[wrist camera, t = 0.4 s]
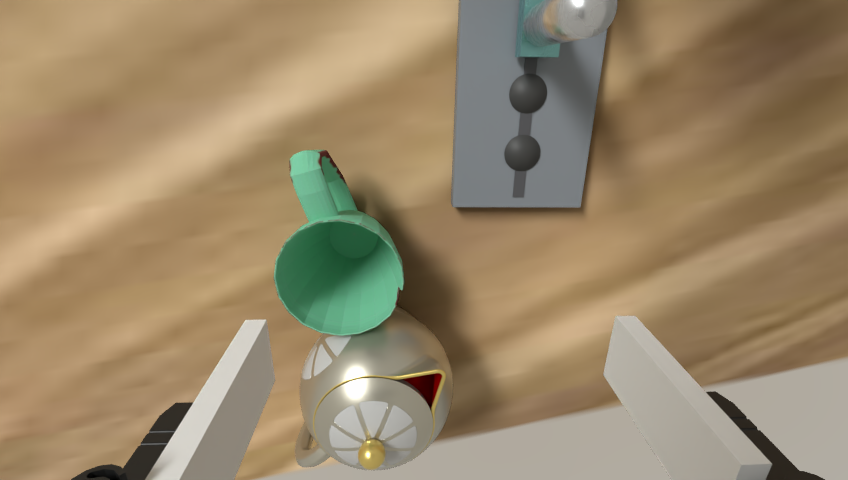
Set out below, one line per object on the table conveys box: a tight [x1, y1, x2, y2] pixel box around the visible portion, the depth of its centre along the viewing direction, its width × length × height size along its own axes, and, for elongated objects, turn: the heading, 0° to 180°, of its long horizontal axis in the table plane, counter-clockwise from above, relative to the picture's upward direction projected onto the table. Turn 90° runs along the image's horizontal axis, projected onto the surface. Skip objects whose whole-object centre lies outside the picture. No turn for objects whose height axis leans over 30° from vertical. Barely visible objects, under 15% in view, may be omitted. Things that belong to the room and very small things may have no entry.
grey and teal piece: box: [451, 0, 607, 207], centre depth 31 cm, size 26×12×12 cm, turn 179°
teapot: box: [295, 306, 453, 470], centre depth 39 cm, size 18×14×16 cm
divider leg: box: [515, 0, 617, 58], centre depth 29 cm, size 4×3×11 cm
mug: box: [274, 150, 404, 336], centre depth 36 cm, size 15×10×10 cm
